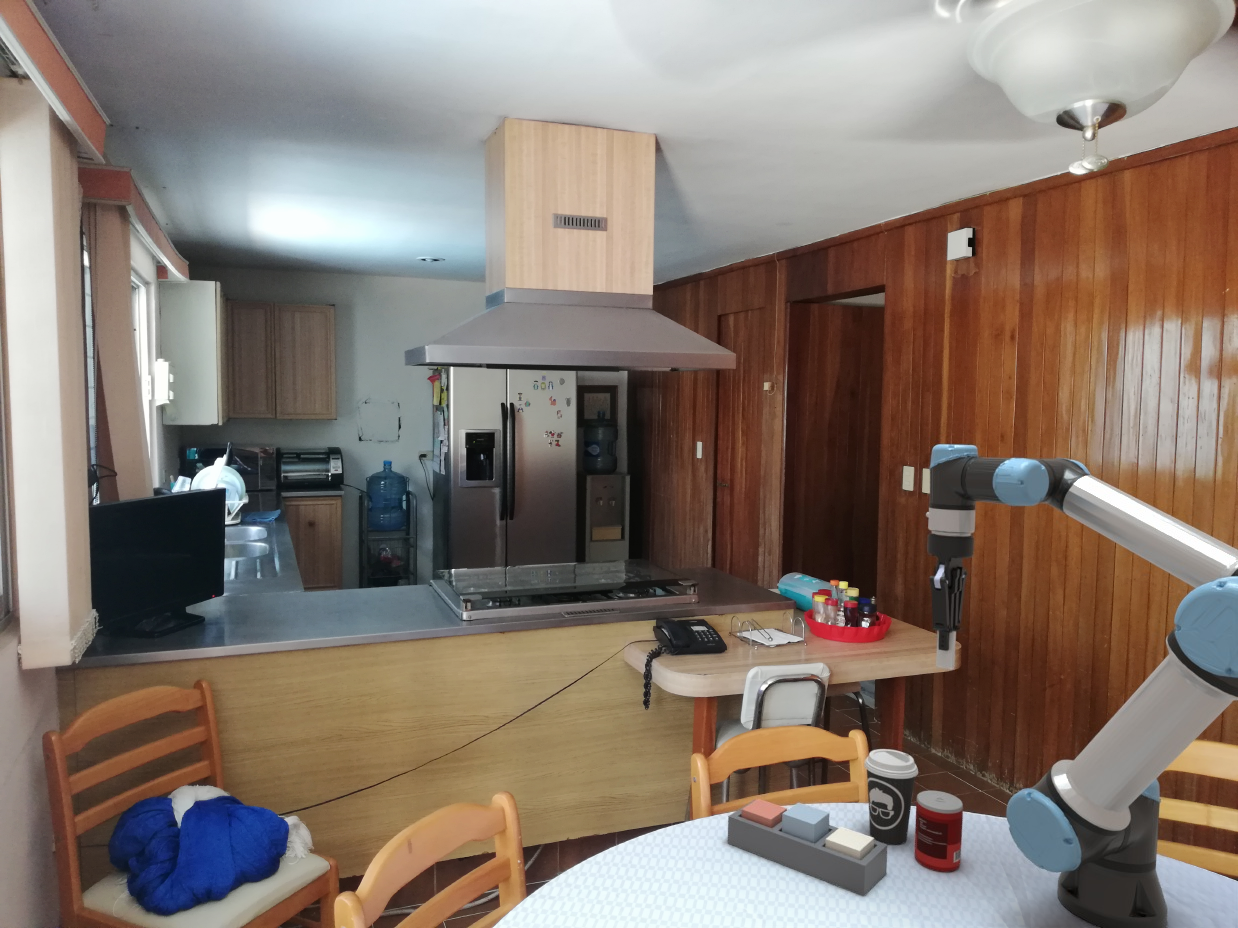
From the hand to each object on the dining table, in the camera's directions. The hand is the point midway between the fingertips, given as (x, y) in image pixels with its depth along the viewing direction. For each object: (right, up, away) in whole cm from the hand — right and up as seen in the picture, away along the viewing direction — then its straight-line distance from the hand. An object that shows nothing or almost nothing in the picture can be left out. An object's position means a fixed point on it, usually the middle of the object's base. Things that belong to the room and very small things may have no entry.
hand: (945, 667), depth 146 cm
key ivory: (-18, -32, -4) cm, 37 cm away
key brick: (-31, -31, +6) cm, 44 cm away
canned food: (-1, -35, +1) cm, 35 cm away
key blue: (-24, -30, +1) cm, 38 cm away
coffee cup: (-7, -34, +10) cm, 36 cm away
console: (-24, -34, +1) cm, 42 cm away
